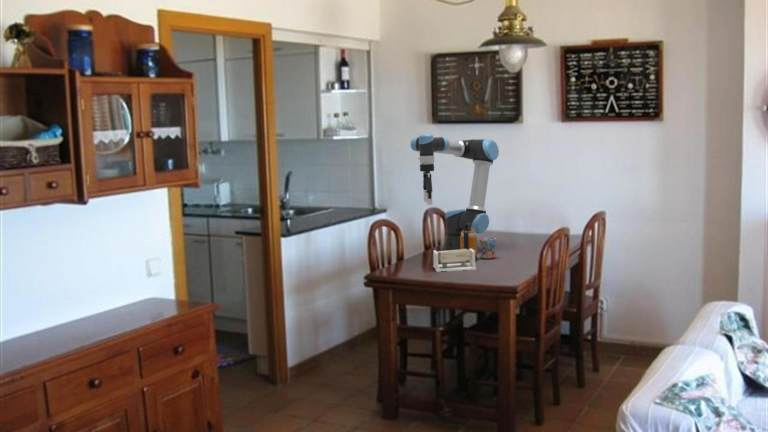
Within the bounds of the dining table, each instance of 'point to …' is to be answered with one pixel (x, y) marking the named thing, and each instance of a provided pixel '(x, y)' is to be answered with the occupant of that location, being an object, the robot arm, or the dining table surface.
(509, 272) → the dining table surface
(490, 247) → the mug
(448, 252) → the cream long box
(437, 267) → the cradle
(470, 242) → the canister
